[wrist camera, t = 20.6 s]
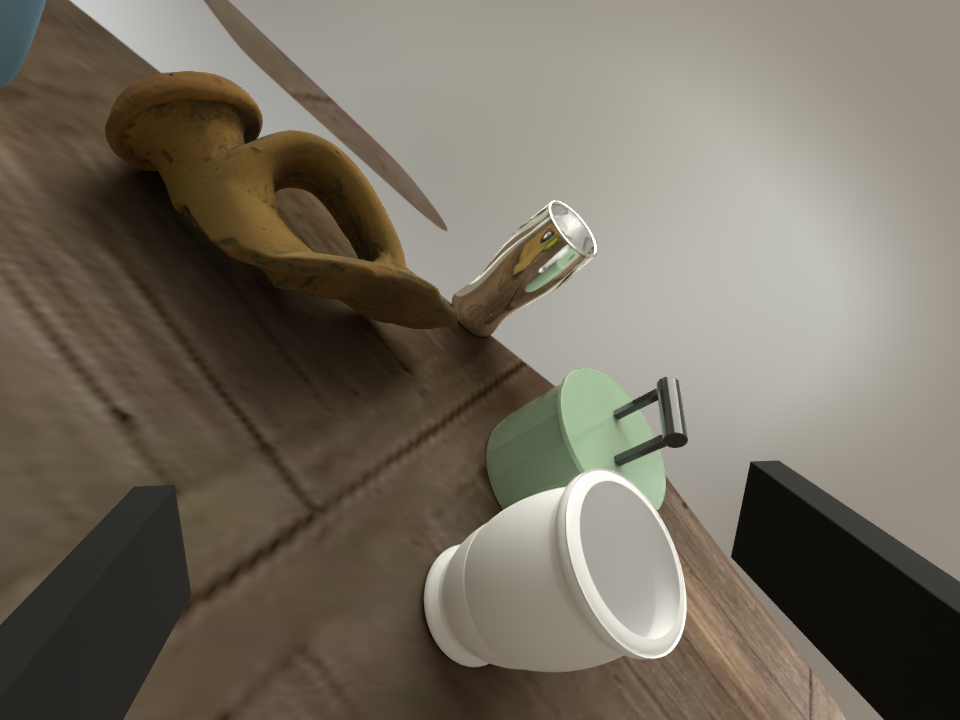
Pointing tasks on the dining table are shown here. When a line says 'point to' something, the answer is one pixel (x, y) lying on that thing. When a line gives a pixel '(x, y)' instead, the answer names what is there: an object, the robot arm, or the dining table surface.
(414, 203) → the dining table surface
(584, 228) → the beer glass
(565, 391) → the pot lid
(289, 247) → the brown looped sculpture
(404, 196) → the dining table surface
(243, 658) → the dining table surface
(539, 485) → the pot
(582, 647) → the jar
